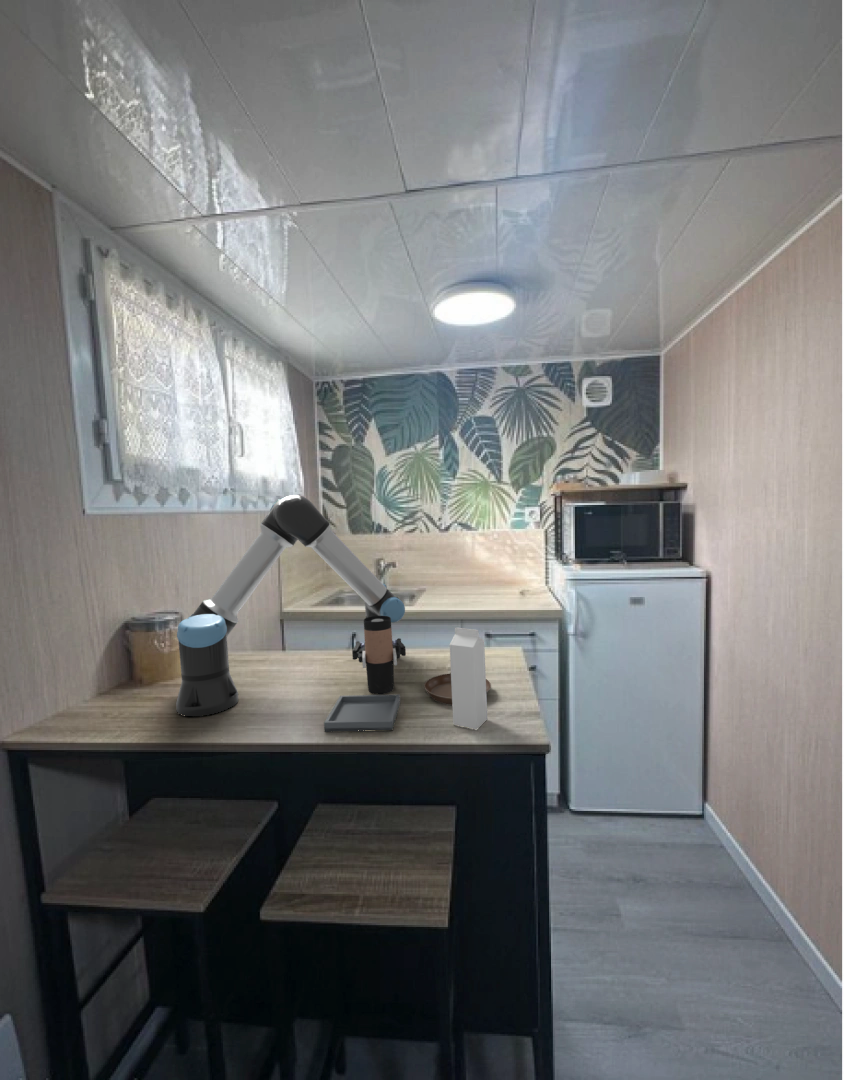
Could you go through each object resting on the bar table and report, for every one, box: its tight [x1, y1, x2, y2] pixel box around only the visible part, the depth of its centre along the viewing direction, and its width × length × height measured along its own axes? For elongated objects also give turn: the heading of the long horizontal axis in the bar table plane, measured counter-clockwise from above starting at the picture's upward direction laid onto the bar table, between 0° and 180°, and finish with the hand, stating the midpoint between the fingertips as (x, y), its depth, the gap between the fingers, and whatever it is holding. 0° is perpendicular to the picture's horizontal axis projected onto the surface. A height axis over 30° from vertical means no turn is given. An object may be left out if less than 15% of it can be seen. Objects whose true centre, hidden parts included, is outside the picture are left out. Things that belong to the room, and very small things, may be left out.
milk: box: [449, 627, 488, 730], centre depth 111 cm, size 6×6×22 cm
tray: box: [323, 693, 401, 733], centre depth 117 cm, size 16×16×2 cm
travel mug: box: [363, 616, 395, 695], centre depth 133 cm, size 8×8×20 cm
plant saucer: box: [423, 672, 492, 706], centre depth 128 cm, size 18×18×3 cm
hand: (379, 661), depth 129 cm, fingers closed on travel mug, 8 cm apart
